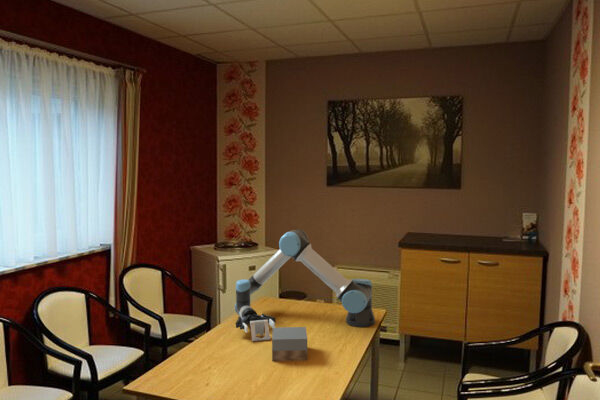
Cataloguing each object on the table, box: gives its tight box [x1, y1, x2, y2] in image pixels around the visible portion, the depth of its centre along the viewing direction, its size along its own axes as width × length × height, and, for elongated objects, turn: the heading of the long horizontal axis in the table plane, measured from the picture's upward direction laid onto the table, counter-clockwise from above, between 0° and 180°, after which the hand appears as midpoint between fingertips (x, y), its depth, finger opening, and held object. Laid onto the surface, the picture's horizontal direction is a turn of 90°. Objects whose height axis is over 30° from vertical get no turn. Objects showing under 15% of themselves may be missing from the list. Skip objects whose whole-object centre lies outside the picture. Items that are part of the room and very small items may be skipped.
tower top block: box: [271, 326, 308, 352], centre depth 216 cm, size 15×15×5 cm
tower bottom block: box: [271, 349, 308, 362], centre depth 216 cm, size 15×15×5 cm
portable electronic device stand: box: [249, 320, 271, 342], centre depth 235 cm, size 9×8×8 cm
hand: (260, 327), depth 233 cm, fingers open, 13 cm apart
